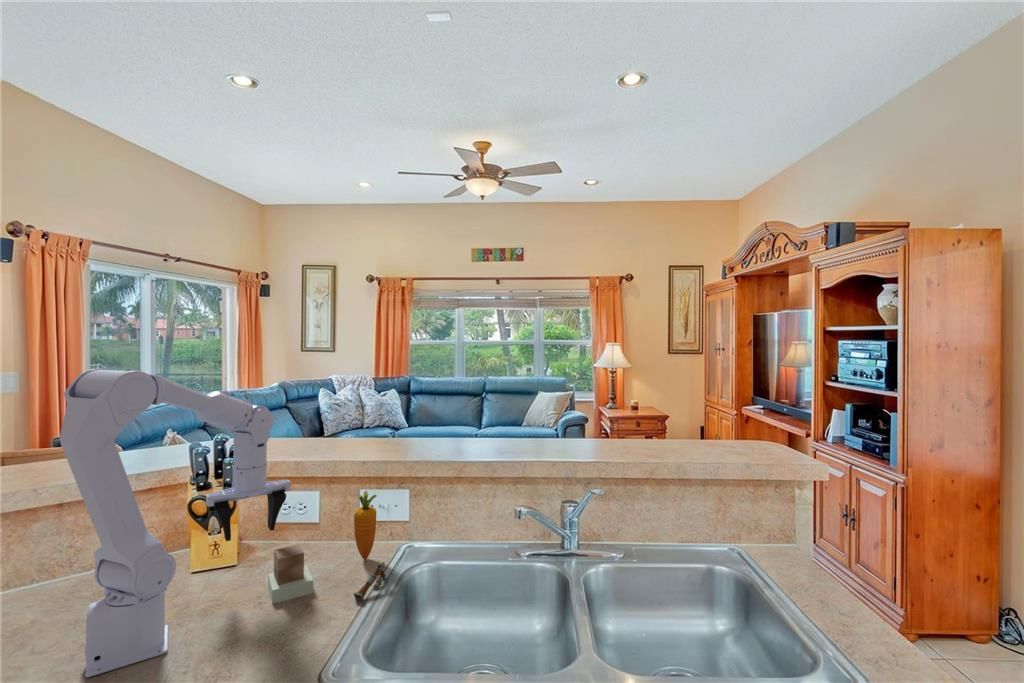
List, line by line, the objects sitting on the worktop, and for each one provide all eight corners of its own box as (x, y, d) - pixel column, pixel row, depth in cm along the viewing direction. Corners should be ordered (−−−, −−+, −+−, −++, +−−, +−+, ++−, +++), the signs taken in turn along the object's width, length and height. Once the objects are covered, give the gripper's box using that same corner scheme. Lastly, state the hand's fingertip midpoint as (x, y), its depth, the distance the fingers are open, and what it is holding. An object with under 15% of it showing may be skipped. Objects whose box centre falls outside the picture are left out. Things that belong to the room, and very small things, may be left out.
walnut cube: (278, 585, 88) (278, 559, 88) (274, 575, 91) (274, 549, 91) (303, 578, 90) (303, 552, 90) (298, 568, 94) (299, 544, 94)
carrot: (359, 553, 106) (360, 487, 106) (380, 555, 106) (381, 488, 105) (349, 564, 101) (349, 494, 101) (370, 565, 101) (371, 496, 100)
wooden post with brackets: (392, 576, 95) (386, 560, 93) (367, 611, 88) (360, 594, 86) (385, 574, 96) (379, 558, 94) (359, 609, 89) (352, 592, 87)
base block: (272, 606, 86) (272, 590, 86) (268, 589, 92) (268, 573, 92) (312, 595, 90) (313, 580, 90) (306, 579, 96) (306, 564, 96)
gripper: (210, 477, 85) (210, 551, 85) (295, 463, 94) (294, 530, 95) (204, 468, 90) (204, 538, 90) (285, 456, 100) (284, 519, 100)
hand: (249, 533), depth 93 cm, fingers open, 7 cm apart
